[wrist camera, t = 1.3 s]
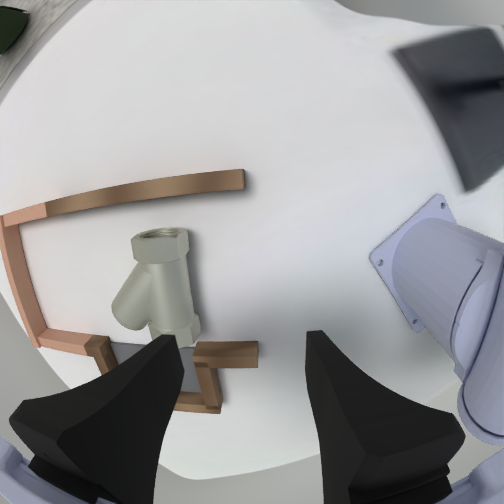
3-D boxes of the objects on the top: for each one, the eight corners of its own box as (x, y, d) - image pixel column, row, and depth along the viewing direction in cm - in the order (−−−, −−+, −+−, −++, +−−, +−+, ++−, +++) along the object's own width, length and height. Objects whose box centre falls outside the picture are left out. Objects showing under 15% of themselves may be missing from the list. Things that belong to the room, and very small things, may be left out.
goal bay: (59, 198, 18) (41, 203, 16) (97, 344, 23) (85, 358, 20) (10, 212, 19) (-6, 217, 17) (44, 335, 23) (33, 346, 21)
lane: (244, 169, 17) (241, 168, 15) (262, 399, 23) (261, 414, 21) (59, 198, 18) (44, 202, 17) (116, 387, 24) (108, 399, 22)
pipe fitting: (134, 318, 22) (204, 324, 21) (111, 342, 18) (189, 353, 17) (115, 230, 20) (192, 225, 19) (85, 242, 16) (169, 239, 15)
